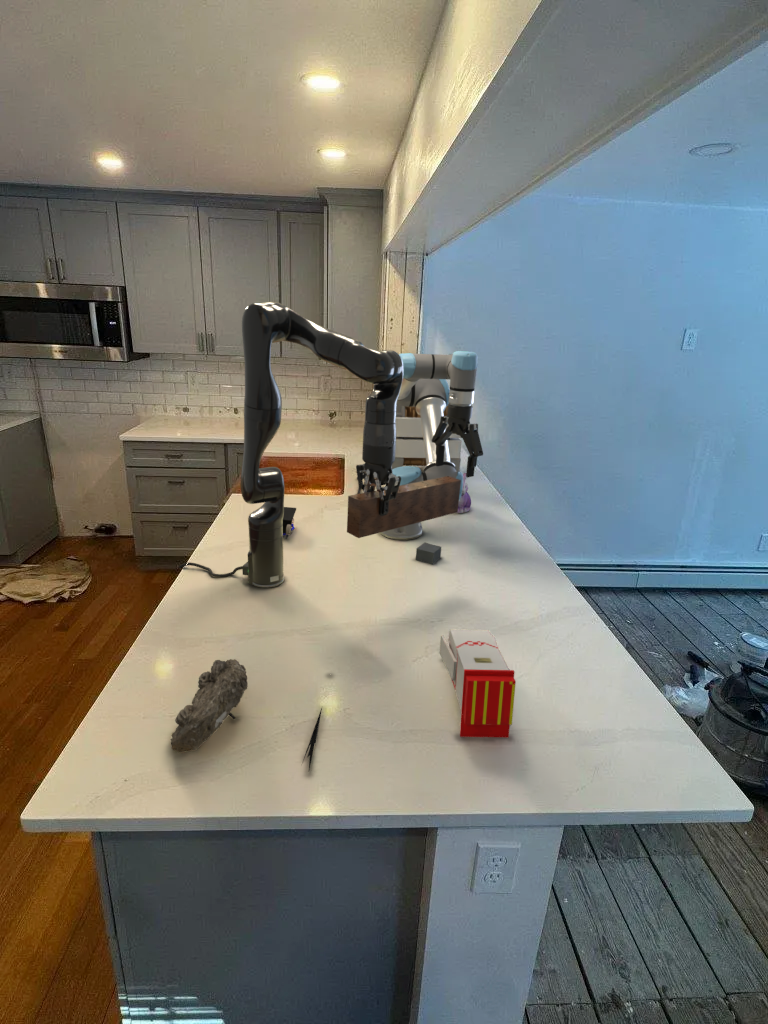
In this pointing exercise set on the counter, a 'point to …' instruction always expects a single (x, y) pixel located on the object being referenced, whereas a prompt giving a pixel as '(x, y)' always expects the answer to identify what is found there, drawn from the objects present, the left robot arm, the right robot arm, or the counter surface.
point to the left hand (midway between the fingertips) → (376, 511)
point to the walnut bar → (403, 506)
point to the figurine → (464, 498)
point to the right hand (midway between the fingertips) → (454, 471)
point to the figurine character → (288, 520)
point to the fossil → (210, 704)
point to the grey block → (428, 553)
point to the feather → (313, 740)
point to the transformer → (418, 440)
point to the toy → (479, 682)
